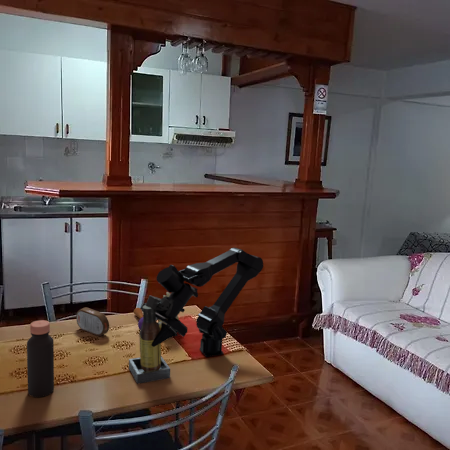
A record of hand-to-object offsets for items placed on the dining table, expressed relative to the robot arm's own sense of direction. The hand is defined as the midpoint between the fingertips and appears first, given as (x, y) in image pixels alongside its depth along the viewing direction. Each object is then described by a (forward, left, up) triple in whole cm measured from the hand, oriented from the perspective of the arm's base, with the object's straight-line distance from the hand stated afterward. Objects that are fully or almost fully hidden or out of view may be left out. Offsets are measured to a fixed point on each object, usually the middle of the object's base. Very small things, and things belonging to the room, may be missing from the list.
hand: (146, 342), depth 141 cm
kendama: (-10, -38, -11) cm, 41 cm away
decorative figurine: (-16, -27, -11) cm, 33 cm away
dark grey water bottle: (+30, 0, -11) cm, 32 cm away
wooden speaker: (+10, -36, -11) cm, 39 cm away
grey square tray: (-1, 0, -10) cm, 10 cm away
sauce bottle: (-2, 0, -9) cm, 9 cm away
